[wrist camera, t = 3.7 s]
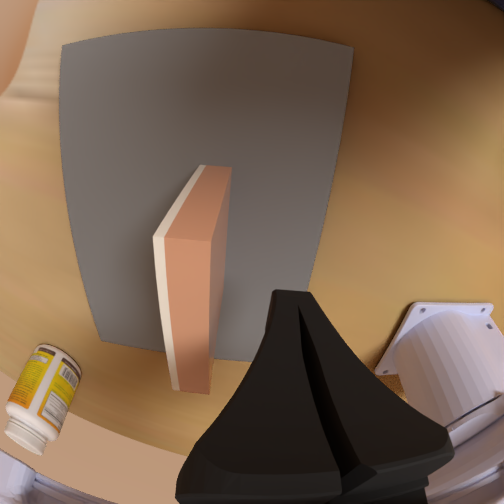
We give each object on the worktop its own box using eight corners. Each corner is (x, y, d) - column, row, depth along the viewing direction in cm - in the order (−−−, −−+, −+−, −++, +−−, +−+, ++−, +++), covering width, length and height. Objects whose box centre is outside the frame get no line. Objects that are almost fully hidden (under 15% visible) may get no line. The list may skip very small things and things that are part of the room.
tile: (232, 167, 13) (211, 241, 7) (223, 288, 17) (209, 394, 11) (199, 164, 13) (152, 236, 7) (197, 286, 17) (172, 389, 11)
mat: (349, 49, 11) (354, 47, 10) (285, 355, 21) (285, 363, 20) (70, 46, 10) (62, 45, 10) (104, 333, 21) (101, 340, 20)
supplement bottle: (34, 354, 24) (-4, 430, 15) (42, 332, 21) (-5, 420, 13) (76, 383, 25) (46, 461, 17) (90, 366, 23) (54, 458, 15)
